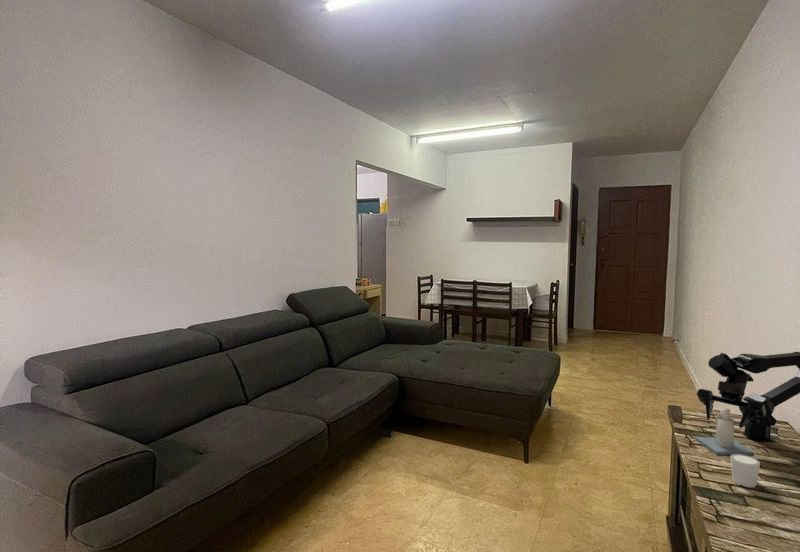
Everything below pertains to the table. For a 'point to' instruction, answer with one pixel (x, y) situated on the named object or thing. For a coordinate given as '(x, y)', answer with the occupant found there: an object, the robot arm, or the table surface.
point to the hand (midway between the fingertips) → (723, 423)
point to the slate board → (718, 450)
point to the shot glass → (744, 470)
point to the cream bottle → (725, 429)
